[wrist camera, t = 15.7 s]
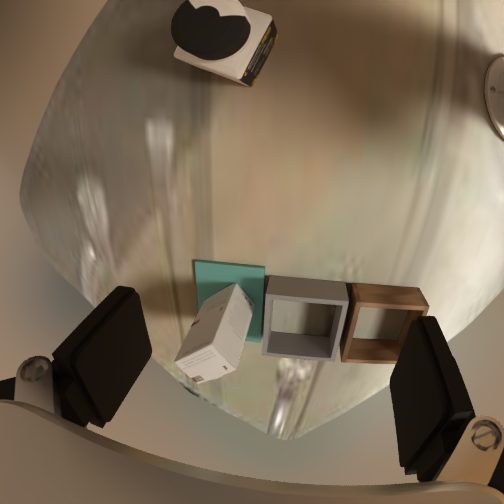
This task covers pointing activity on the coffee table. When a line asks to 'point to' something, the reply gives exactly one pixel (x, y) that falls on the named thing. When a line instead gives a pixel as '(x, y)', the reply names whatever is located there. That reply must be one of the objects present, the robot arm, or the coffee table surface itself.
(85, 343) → the robot arm
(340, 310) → the grey bin
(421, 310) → the walnut bin
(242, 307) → the skincare box
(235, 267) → the teal pad
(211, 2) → the medicine bottle
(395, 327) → the coffee table surface
